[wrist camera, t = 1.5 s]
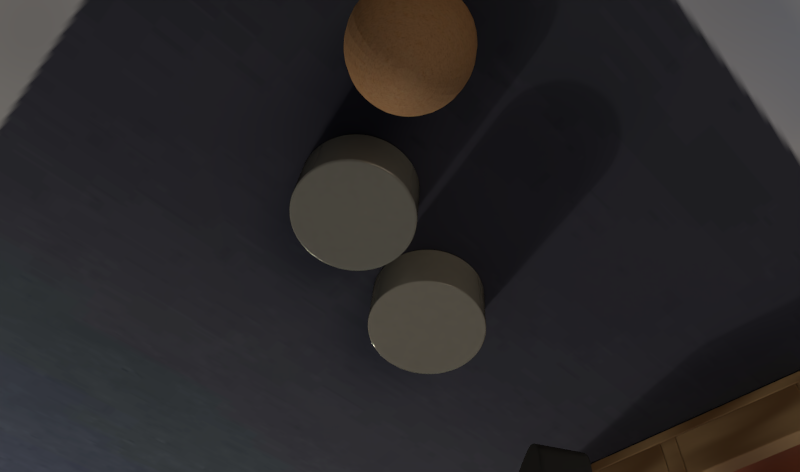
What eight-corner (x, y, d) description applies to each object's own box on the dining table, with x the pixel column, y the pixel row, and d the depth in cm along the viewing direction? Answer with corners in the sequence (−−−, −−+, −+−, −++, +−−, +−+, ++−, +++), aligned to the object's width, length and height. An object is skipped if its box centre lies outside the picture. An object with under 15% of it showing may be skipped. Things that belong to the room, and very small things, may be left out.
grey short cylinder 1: (410, 126, 29) (407, 152, 27) (427, 234, 32) (425, 266, 30) (288, 140, 30) (275, 166, 28) (313, 245, 32) (304, 276, 30)
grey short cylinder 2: (410, 229, 32) (407, 260, 30) (506, 284, 33) (509, 317, 31) (353, 307, 34) (346, 341, 32) (444, 355, 35) (443, 391, 33)
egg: (340, -26, 26) (311, 19, 21) (465, -52, 26) (466, -11, 21) (369, 92, 29) (349, 159, 23) (484, 71, 28) (490, 136, 23)
